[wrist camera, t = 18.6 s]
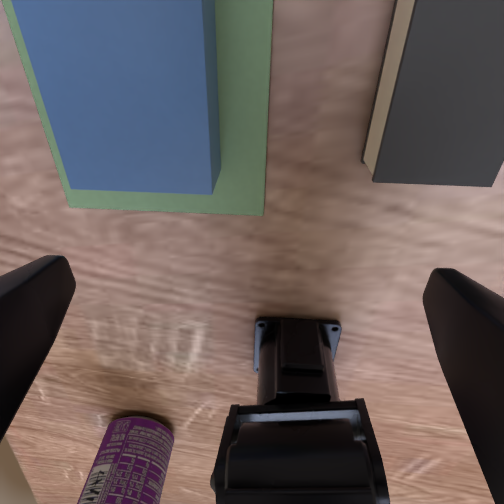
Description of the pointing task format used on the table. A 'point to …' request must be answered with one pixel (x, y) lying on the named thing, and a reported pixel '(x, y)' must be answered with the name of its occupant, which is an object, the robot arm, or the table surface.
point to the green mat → (230, 119)
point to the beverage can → (130, 463)
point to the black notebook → (440, 95)
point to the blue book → (128, 90)
